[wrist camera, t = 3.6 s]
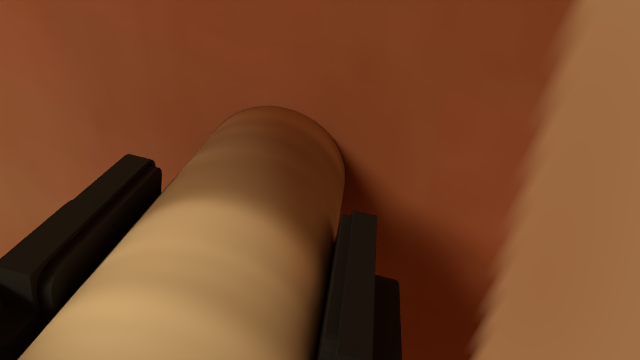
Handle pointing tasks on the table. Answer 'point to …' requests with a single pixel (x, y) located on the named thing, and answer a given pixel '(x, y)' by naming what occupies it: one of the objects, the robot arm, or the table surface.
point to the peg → (218, 255)
